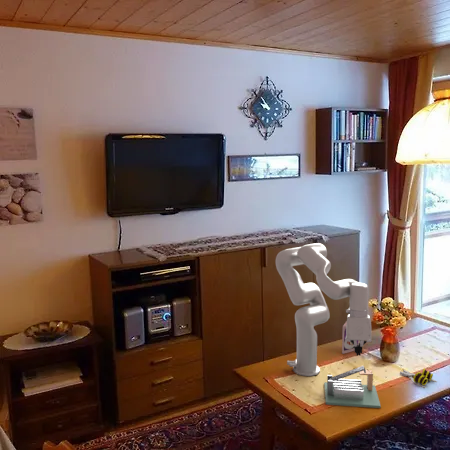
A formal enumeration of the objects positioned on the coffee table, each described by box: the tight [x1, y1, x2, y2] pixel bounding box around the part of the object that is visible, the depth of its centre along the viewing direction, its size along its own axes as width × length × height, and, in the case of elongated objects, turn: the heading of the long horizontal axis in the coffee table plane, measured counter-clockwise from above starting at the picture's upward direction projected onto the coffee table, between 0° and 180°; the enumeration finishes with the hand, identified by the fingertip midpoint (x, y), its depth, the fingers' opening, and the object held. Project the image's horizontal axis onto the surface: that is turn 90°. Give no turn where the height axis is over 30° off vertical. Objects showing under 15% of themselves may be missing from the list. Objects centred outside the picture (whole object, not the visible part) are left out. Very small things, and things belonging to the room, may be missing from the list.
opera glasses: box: [412, 367, 434, 386], centre depth 228 cm, size 10×5×5 cm, turn 133°
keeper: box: [358, 369, 374, 390], centre depth 220 cm, size 6×4×7 cm
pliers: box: [399, 369, 438, 389], centre depth 231 cm, size 10×2×15 cm
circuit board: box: [323, 381, 381, 409], centre depth 216 cm, size 22×18×1 cm
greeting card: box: [341, 320, 360, 354], centre depth 263 cm, size 11×7×15 cm, turn 118°
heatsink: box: [326, 374, 363, 400], centre depth 216 cm, size 14×10×6 cm
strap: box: [329, 365, 367, 381], centre depth 215 cm, size 16×3×2 cm, turn 80°
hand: (358, 354), depth 212 cm, fingers closed
